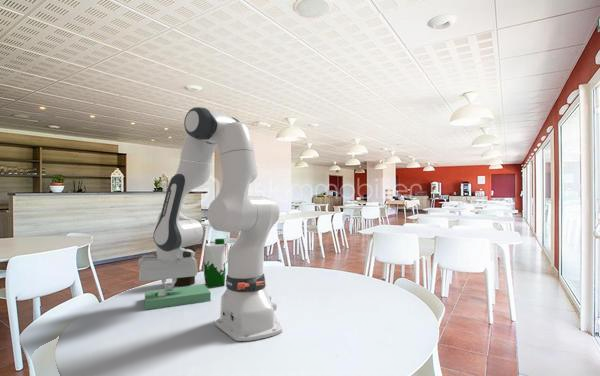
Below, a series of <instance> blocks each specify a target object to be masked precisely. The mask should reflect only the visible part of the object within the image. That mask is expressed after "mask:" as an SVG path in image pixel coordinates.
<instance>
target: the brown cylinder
mask: <svg viewBox="0 0 600 376" xmlns="http://www.w3.org/2000/svg"><path fill="white" fill-rule="evenodd" d="M182 248H186V249H190V250H192V251H193V252H194V258H195V260H196V261H197V245H196V244H195V245H191V246H187V247H182ZM172 282H173V281H172ZM172 282H171V283H172ZM195 283H196V276H191V277H182V278H177V281H176V283H175V284H174V286H173V287H185V286H193V285H195Z"/></svg>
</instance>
